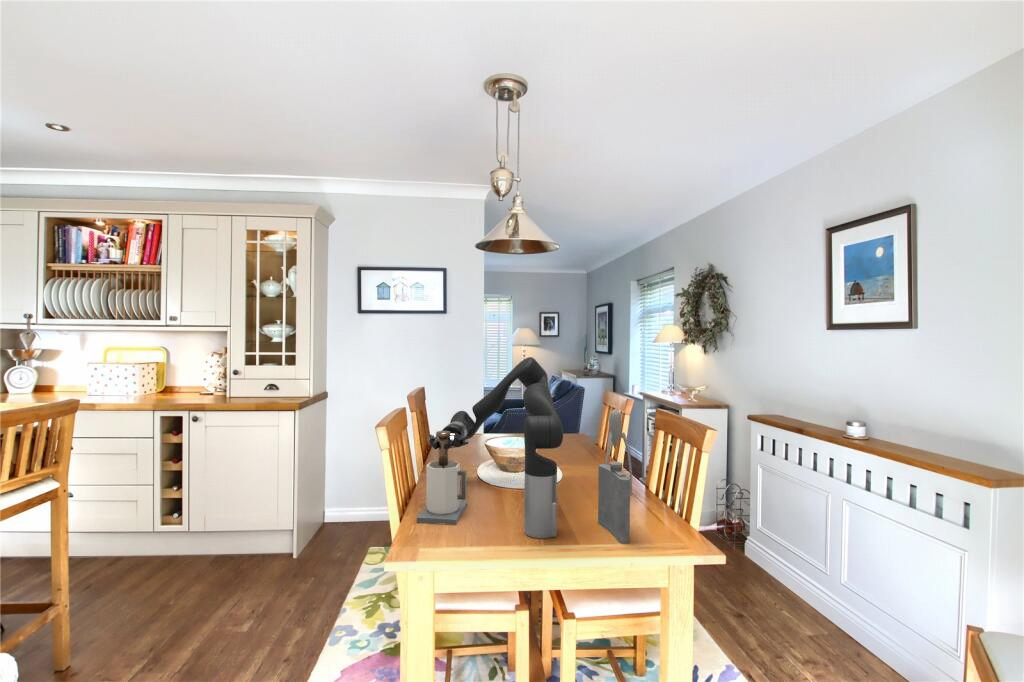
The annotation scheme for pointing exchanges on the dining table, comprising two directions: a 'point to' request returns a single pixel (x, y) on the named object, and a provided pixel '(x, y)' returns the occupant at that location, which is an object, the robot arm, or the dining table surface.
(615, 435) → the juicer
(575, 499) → the dining table surface
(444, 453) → the plunger
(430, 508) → the coffee press
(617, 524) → the hip flask
